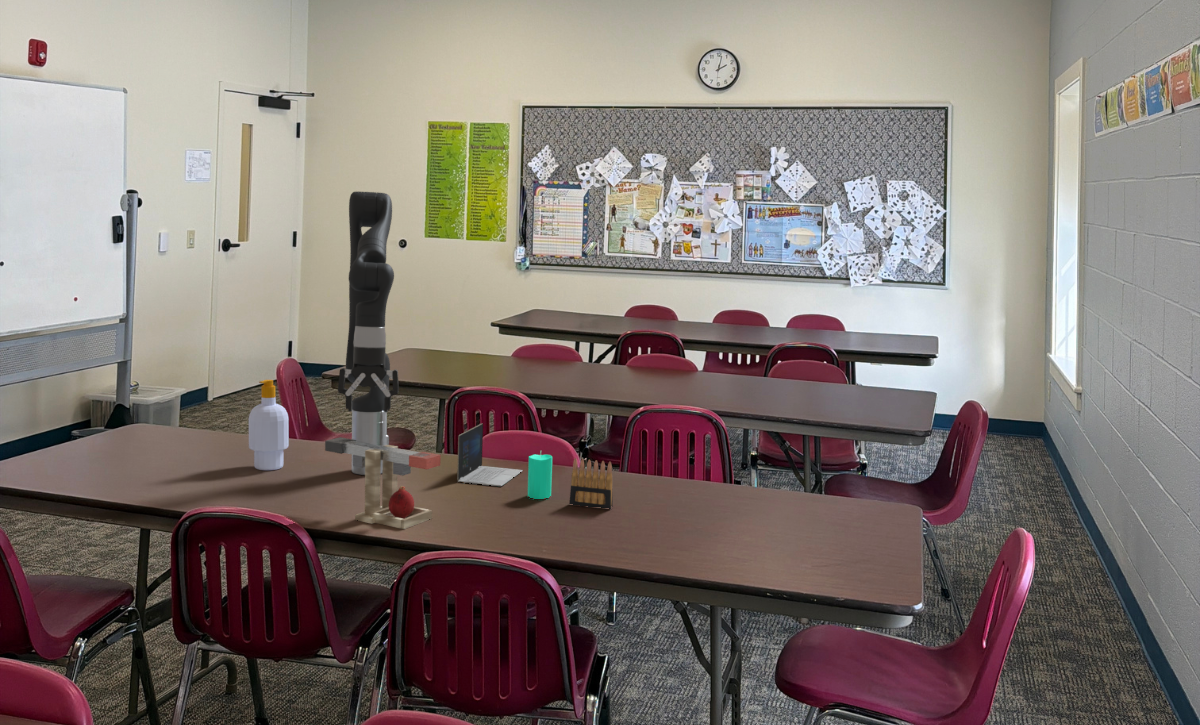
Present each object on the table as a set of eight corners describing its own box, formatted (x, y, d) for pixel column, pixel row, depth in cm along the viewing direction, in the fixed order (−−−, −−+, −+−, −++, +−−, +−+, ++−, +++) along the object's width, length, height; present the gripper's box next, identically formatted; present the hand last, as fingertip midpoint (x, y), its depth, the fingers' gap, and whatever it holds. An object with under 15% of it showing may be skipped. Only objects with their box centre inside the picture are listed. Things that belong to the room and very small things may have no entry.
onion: (408, 524, 228) (408, 490, 227) (384, 522, 229) (384, 488, 228) (417, 517, 234) (418, 484, 233) (394, 515, 235) (394, 482, 234)
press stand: (355, 519, 230) (355, 451, 228) (389, 508, 241) (390, 442, 238) (401, 530, 224) (402, 460, 222) (434, 517, 234) (436, 450, 232)
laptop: (501, 488, 263) (502, 439, 262) (456, 483, 266) (457, 435, 265) (522, 472, 281) (524, 426, 279) (480, 468, 284) (481, 423, 282)
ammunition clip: (612, 508, 248) (614, 461, 247) (610, 510, 247) (612, 462, 245) (571, 503, 251) (572, 456, 249) (569, 505, 249) (570, 458, 248)
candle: (555, 495, 257) (556, 449, 256) (544, 501, 252) (545, 454, 250) (534, 492, 260) (536, 446, 258) (523, 497, 254) (524, 451, 253)
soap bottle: (240, 469, 271) (239, 380, 268) (267, 461, 281) (266, 376, 278) (271, 474, 268) (270, 384, 264) (296, 466, 277) (296, 379, 274)
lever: (325, 462, 237) (325, 440, 237) (340, 458, 242) (340, 437, 241) (426, 481, 223) (426, 458, 223) (440, 477, 228) (440, 454, 227)
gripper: (400, 345, 248) (398, 410, 249) (341, 343, 246) (339, 409, 247) (398, 347, 241) (396, 414, 242) (337, 345, 239) (336, 412, 240)
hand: (368, 411), depth 244 cm, fingers open, 8 cm apart
